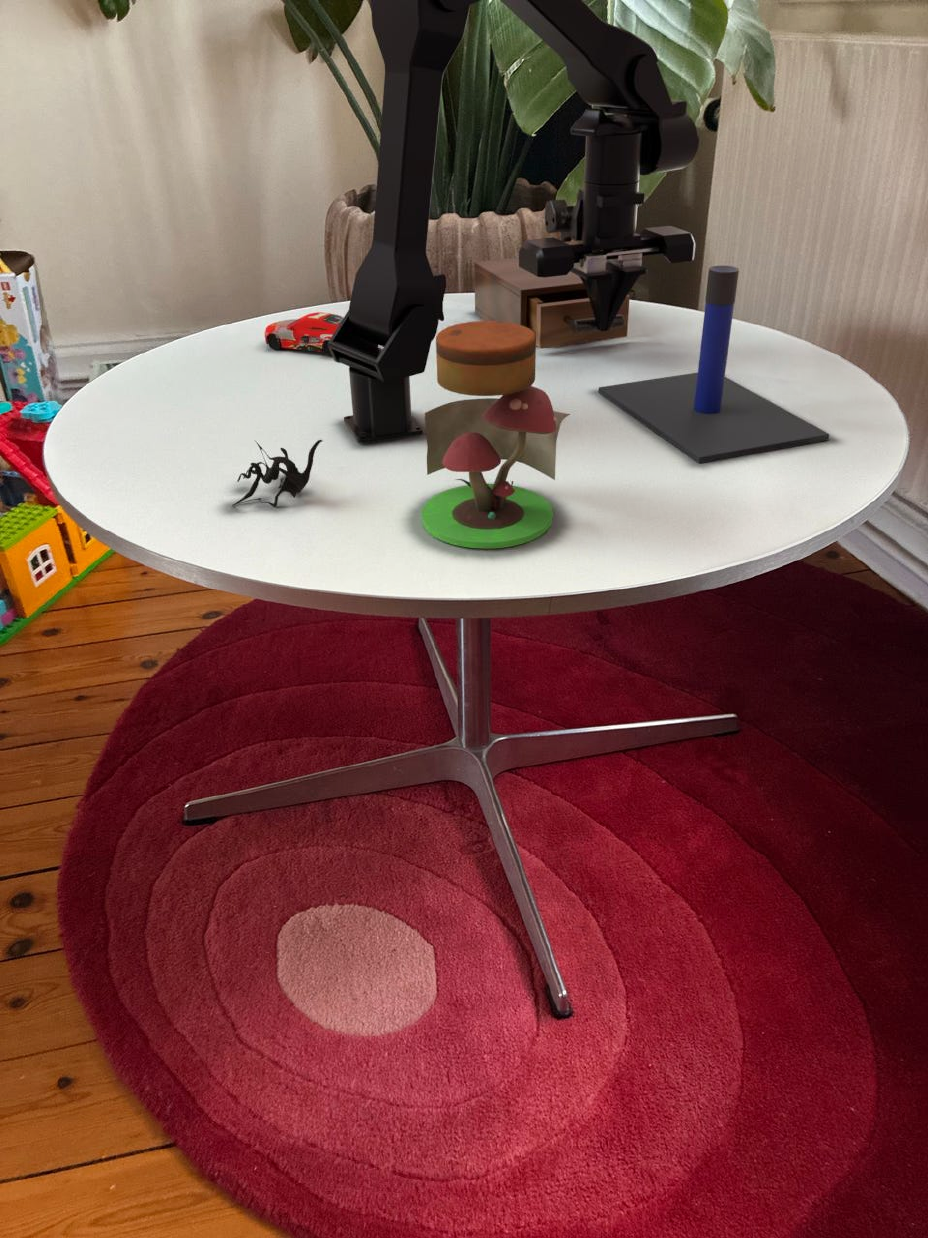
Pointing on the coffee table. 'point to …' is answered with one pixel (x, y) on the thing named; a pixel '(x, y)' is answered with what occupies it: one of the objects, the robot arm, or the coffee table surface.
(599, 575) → the coffee table surface
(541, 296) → the drawer
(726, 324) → the marker
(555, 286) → the cabinet
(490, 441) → the mushroom figurine
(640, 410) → the desk mat
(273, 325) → the race car
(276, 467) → the creature
